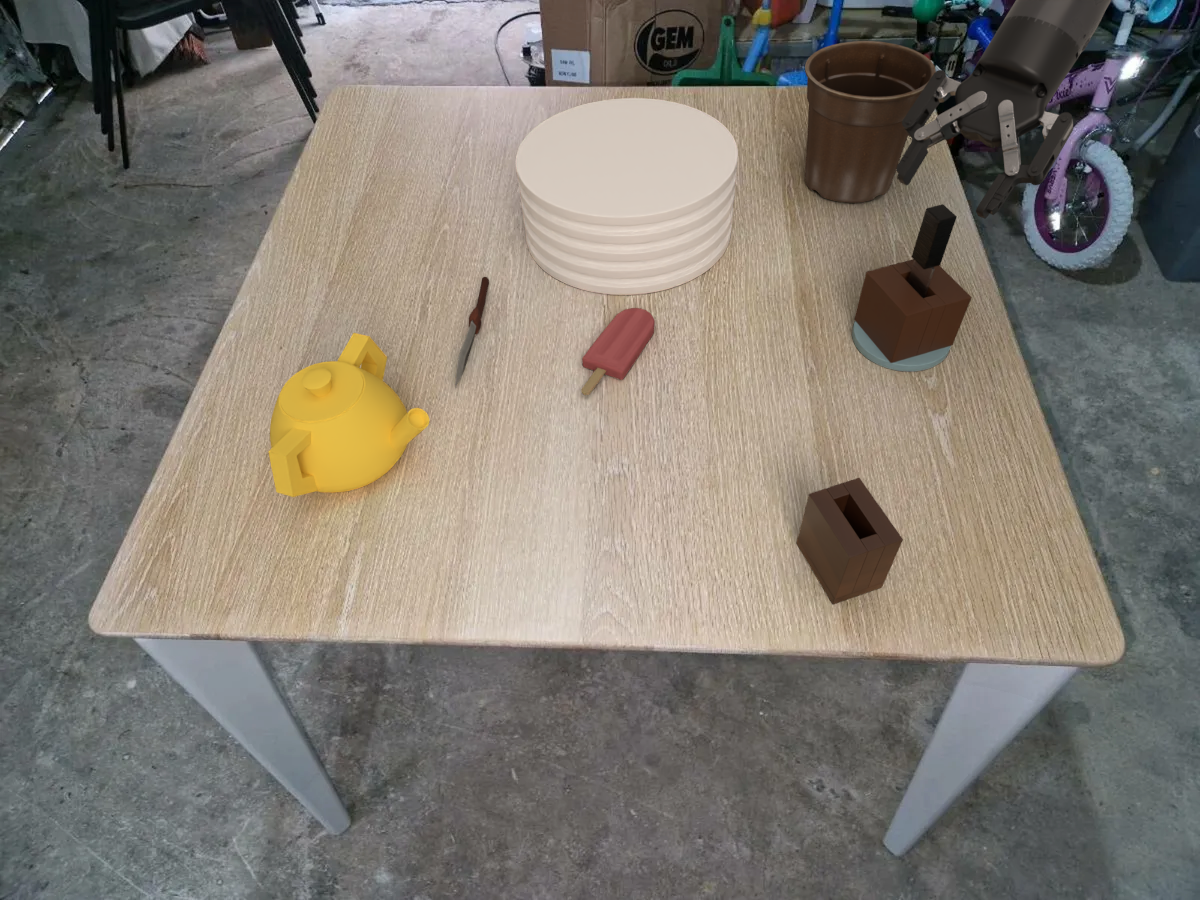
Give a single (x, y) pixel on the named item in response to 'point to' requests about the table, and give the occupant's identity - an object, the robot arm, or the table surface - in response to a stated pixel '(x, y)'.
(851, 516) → the knife block
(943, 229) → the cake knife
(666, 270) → the plate stack
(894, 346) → the slotted wooden stand
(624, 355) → the popsicle
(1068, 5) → the robot arm
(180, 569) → the table surface
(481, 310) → the knife
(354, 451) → the teapot
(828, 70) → the plant pot
